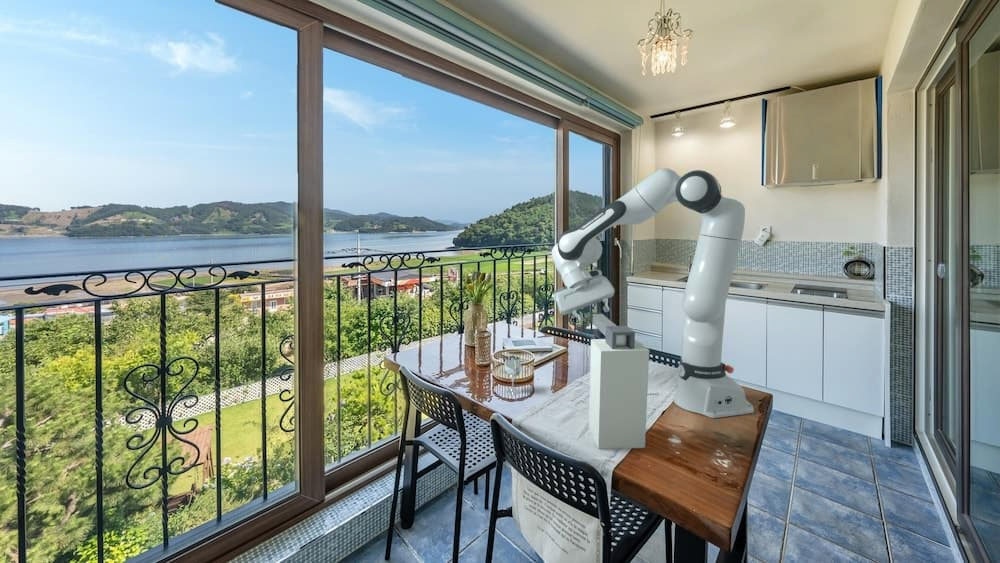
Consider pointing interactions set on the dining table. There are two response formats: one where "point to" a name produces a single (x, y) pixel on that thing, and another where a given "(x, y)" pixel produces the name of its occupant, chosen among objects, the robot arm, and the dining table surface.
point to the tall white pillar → (618, 390)
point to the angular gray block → (601, 324)
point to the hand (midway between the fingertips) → (594, 316)
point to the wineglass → (512, 370)
